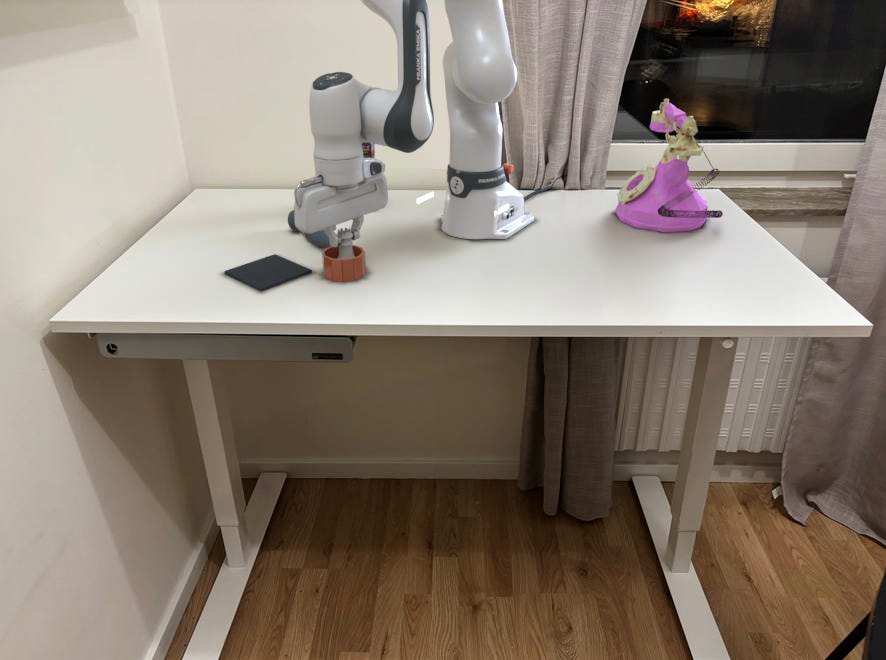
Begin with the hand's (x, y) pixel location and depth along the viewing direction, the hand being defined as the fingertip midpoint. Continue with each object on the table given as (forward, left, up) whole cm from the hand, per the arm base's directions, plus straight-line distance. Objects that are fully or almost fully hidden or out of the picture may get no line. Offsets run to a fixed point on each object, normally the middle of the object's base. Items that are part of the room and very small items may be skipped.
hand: (345, 242), depth 141 cm
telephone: (-68, +32, -7) cm, 75 cm away
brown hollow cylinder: (0, 0, -7) cm, 6 cm away
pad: (+10, -11, -7) cm, 17 cm away
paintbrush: (-8, -20, -7) cm, 23 cm away
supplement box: (-31, -28, -7) cm, 42 cm away
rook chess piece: (0, 0, -6) cm, 6 cm away
